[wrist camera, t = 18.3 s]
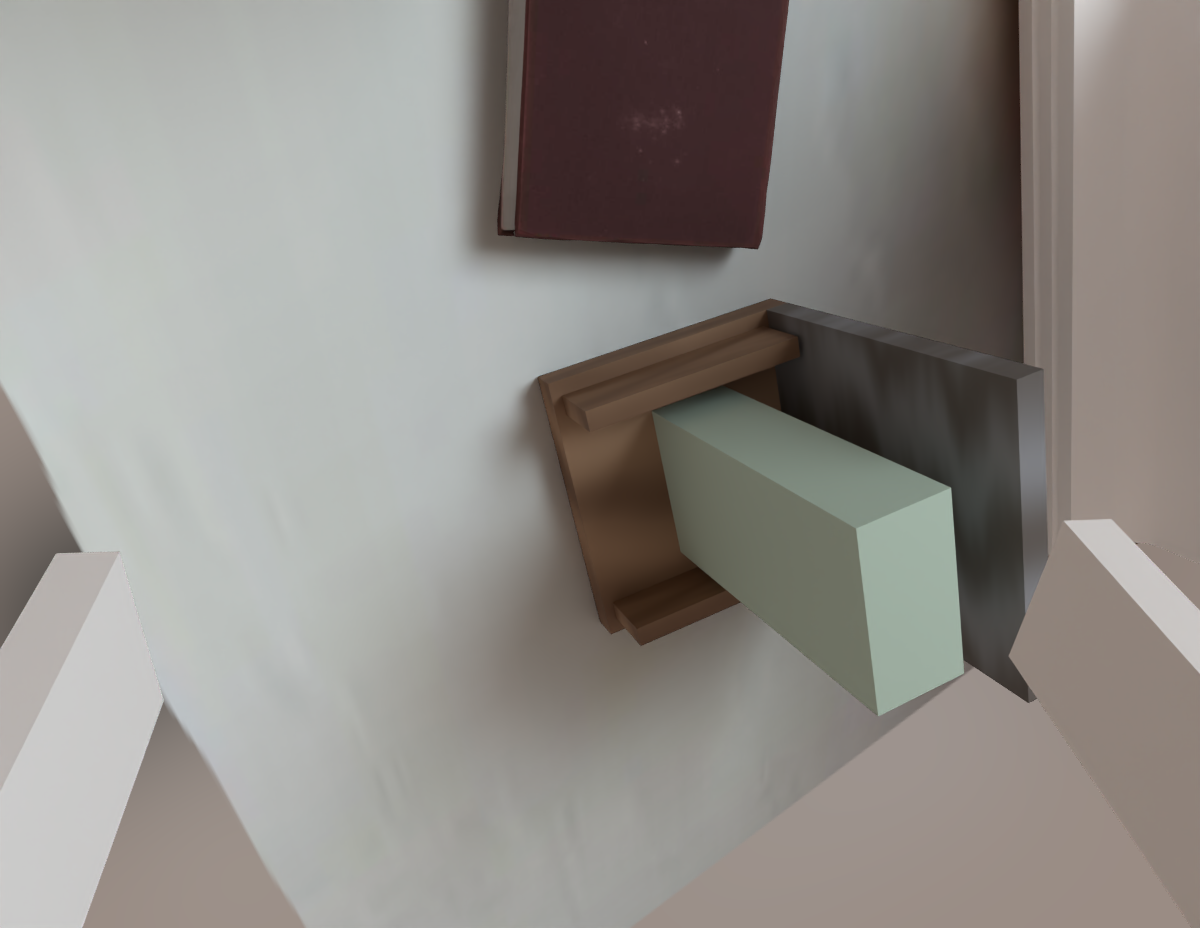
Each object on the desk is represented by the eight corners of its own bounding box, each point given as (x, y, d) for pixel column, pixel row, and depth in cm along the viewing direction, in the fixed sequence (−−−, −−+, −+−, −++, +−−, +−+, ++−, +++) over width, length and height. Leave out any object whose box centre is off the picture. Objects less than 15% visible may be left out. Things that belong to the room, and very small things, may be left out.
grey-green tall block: (651, 411, 45) (856, 528, 31) (722, 385, 46) (951, 487, 32) (680, 551, 48) (878, 716, 34) (746, 524, 49) (964, 673, 35)
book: (784, -204, 41) (828, -231, 38) (735, 245, 46) (770, 251, 43) (510, -276, 36) (536, -314, 33) (492, 234, 42) (513, 240, 39)
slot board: (537, 376, 44) (719, 498, 28) (770, 298, 47) (1043, 369, 32) (600, 621, 49) (780, 833, 34) (804, 534, 53) (1051, 690, 38)
